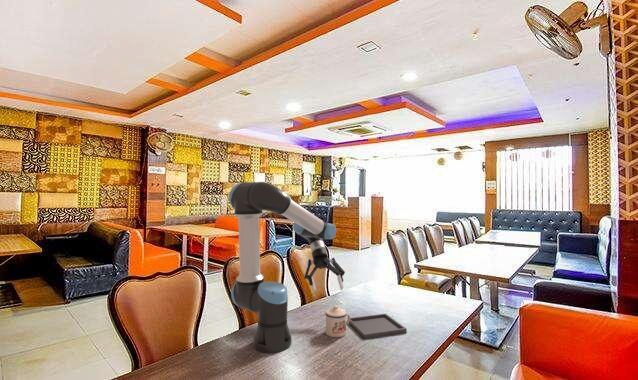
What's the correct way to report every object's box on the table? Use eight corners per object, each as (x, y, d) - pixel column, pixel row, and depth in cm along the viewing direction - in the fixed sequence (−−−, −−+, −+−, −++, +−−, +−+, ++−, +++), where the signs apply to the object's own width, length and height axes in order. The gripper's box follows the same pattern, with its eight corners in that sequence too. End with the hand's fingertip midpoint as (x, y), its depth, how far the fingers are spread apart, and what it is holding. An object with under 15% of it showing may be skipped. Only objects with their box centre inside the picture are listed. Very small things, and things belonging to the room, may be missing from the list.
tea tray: (364, 339, 131) (364, 334, 131) (347, 322, 148) (347, 318, 148) (406, 332, 137) (406, 328, 137) (385, 317, 154) (385, 313, 154)
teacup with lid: (332, 339, 130) (332, 311, 130) (321, 331, 137) (321, 304, 138) (356, 333, 136) (356, 306, 136) (343, 325, 144) (343, 300, 144)
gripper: (339, 254, 168) (351, 291, 153) (293, 257, 160) (301, 296, 146) (343, 246, 163) (355, 283, 148) (296, 248, 155) (304, 288, 141)
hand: (328, 289), depth 147 cm, fingers open, 13 cm apart
